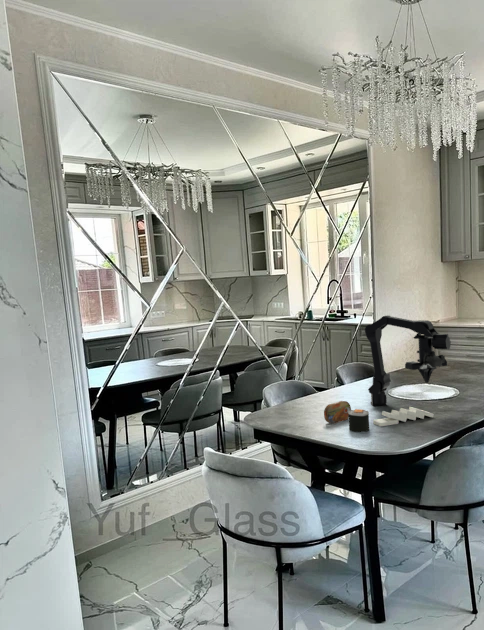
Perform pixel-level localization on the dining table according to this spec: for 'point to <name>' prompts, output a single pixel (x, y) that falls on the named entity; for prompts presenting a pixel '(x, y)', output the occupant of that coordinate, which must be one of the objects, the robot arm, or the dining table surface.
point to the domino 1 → (385, 421)
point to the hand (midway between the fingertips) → (426, 382)
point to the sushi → (358, 420)
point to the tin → (337, 412)
